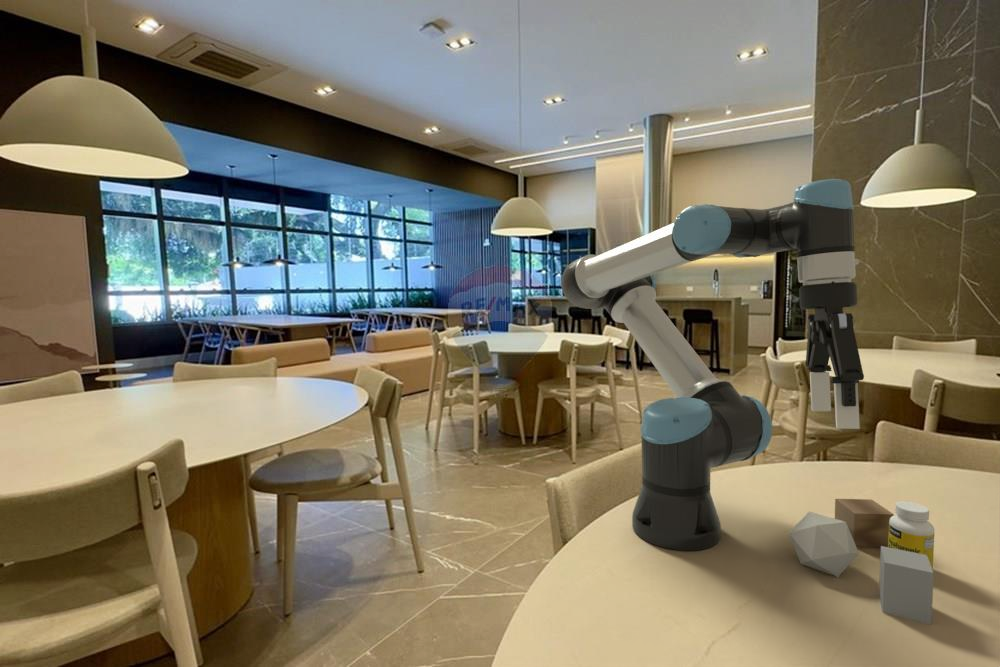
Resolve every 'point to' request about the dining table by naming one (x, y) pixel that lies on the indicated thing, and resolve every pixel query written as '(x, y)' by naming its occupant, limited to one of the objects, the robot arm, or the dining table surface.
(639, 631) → the dining table surface
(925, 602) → the grey block
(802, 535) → the die
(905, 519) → the supplement bottle
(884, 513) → the walnut block
